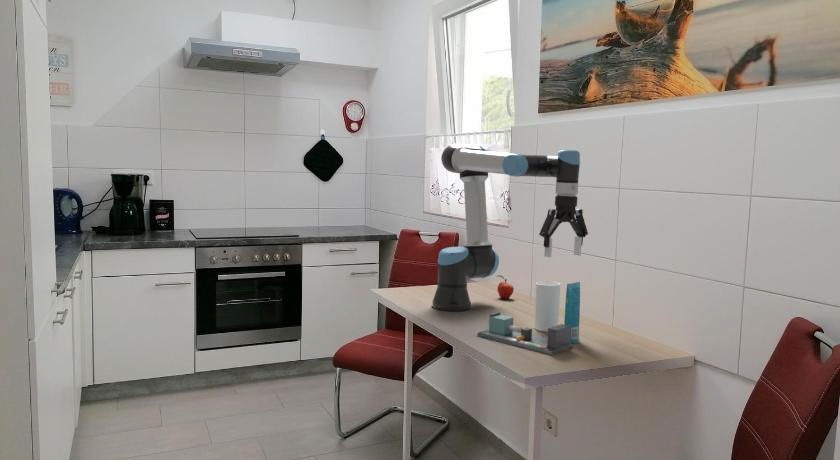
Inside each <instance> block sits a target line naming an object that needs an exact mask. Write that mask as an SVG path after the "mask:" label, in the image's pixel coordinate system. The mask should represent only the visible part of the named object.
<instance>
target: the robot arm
mask: <svg viewBox="0 0 840 460" xmlns="http://www.w3.org/2000/svg"><path fill="white" fill-rule="evenodd" d="M440 160H441V164H442V166H443V168H444V169H446V170H447V171H448V172H451V173H454V174H459V179H460V181H462V182H463V192H464V193H463V195H464V208H465V209H464V211H465V227H466V229H465V231H466V242H465V243H464V244H463V246H450V247H445V248H443V249H441V250H440V251H439V253H438V258H437V287H436V290H435V293H434V296H433V298H432V305H433V306H432V305H431V306H432V308H434V307H435V308H434V309H436V308H437V310H439V309H440V311H447V312H463V311H468V310H470V309H471V306H472V303H471V299H470V295H469V290H468V280H473V279H485V278H488V277H491V276H492V275H494V274H495V273H496V272H497V270H498V268H499V265H500V258H499V254H498V253H497V251H496V250H495V249H494V248H493V243H492V242H490V240H489V235H488V234H489V233H488V214H487V197H486V194H487V193H486V180H488V178H489V173H491V174H500V175H508V176H509V177H510V176H511V177H535V178H537V177H538V178H556V180H555V194H556V195H555V197H554V206H555V209H553V208H549V209H548V210H547V214H546V217H545V219H544V222H543V224H542V227H541V229H540V231H539V234H538V235H539V237H542V238H543V247H544V254H543V255H544V257H545V258H552V248H553V238H552V235H554V233H555V232H556V230H557V229H558V227H559V226H560V225H561V224H562V223H569V225H570V226H571V228H572V230H573V231H574V233H575V235H576V236H574V245H573V255H574V256H581V255H582V246H583V242H584V238H585V237H586V236H588V235H589V232H588V228H587V226H586V223H585V218H584V214H583V209H582V208H576V207H577V206H578V194H579V175H580V167H581V166H580V165H581V162H580V161H581V154H580V151H578V150H572V149H561V150H558V152H557V155H544V154H543V155H540V154H539V155H538V154H537V155H536V154H523V153H522V154H521V153H510V152H499V151H498V152H496V151H491V150H490V149H489V148H488V147H487V146H485V145H480V144H465V143H453V144H450V145H448V146H447V147H445V148H444V150H443V151H442V154H441V159H440ZM576 195H577V196H576Z"/></svg>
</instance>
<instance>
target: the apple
mask: <svg viewBox="0 0 840 460" xmlns="http://www.w3.org/2000/svg"><path fill="white" fill-rule="evenodd" d="M495 277H496V278H498V277H499V278H501V279H503V280H504V282H503V281H502V282H499V283H498V285H497V289H496V290H497V293H498V295H499V298H500V299H501V298H504V299H503V300H507V298H508V299H510V298H511V296H512V295H513V293H514V290H515V289H514V286H513V285H512V284H510V283H508V282H507V279H506V278H504V276H503V275H500V274H498V275H496V276H495Z"/></svg>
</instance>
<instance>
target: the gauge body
mask: <svg viewBox="0 0 840 460" xmlns="http://www.w3.org/2000/svg"><path fill="white" fill-rule="evenodd" d="M488 329H489V332H493V333H497V334H501V335H506V334H509V333H513V331H516V332H520V333H521V331H522V329H524V328H523V327H519V326H516V325H514V317H512V316H507V315H504V314H501V312H500V311H498V312H494V313H490V314H489V319H488Z"/></svg>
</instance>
